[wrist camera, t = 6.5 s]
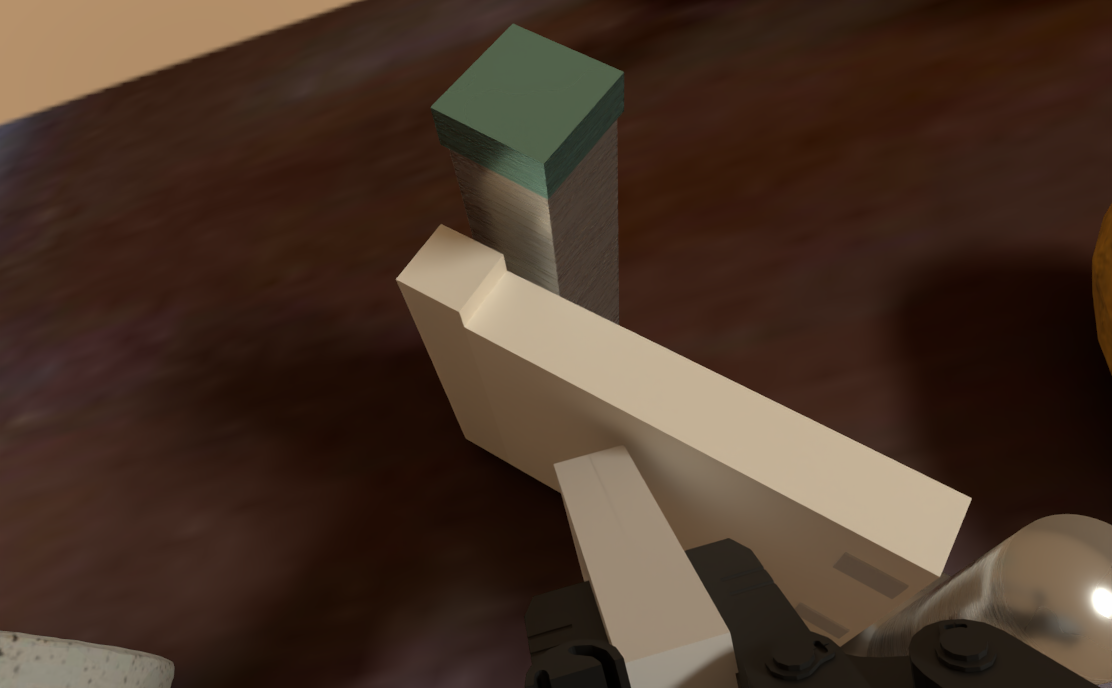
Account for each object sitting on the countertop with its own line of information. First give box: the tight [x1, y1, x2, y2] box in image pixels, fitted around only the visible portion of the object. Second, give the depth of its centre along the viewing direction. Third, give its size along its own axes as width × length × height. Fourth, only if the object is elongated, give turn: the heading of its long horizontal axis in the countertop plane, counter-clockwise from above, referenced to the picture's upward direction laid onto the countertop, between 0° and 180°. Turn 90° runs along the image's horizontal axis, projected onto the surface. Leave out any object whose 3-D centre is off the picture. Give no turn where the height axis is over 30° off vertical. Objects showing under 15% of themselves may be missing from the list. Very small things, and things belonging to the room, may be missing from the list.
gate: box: [396, 224, 972, 647], centre depth 19 cm, size 12×2×9 cm, turn 58°
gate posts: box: [430, 24, 1112, 685], centre depth 18 cm, size 18×5×12 cm, turn 46°
